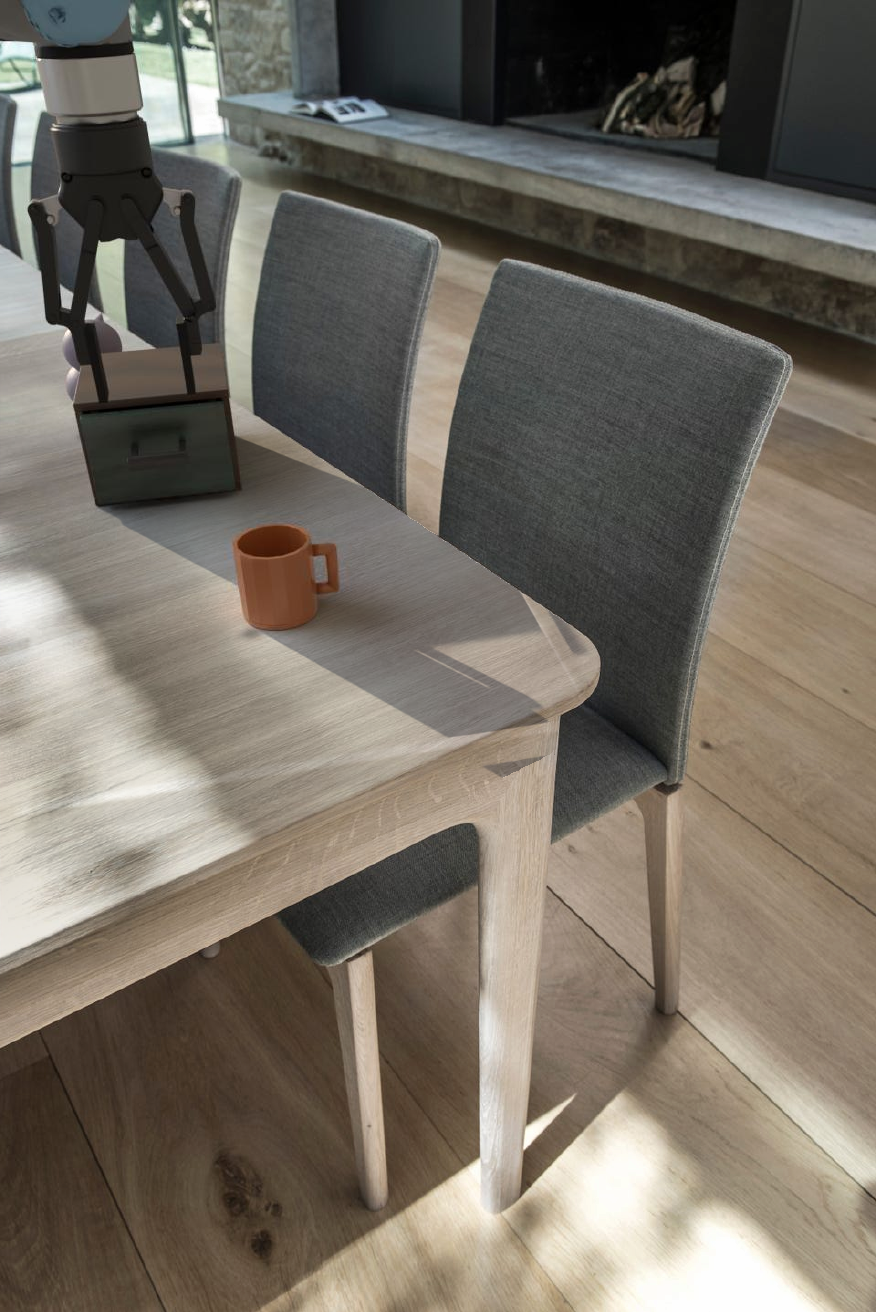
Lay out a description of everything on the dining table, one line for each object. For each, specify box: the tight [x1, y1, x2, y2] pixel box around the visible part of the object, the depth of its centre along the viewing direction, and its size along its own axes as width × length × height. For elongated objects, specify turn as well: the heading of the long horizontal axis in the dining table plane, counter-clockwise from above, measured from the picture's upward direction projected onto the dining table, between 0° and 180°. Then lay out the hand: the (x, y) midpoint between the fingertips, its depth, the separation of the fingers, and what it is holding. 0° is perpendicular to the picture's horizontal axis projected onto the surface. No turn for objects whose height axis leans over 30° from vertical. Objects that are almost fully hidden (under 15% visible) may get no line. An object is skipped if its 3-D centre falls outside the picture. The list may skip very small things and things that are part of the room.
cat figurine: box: [61, 311, 123, 402], centre depth 121 cm, size 8×8×12 cm
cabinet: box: [72, 342, 243, 507], centre depth 110 cm, size 16×15×11 cm
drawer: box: [80, 398, 236, 504], centre depth 106 cm, size 19×13×9 cm
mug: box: [232, 523, 341, 631], centre depth 86 cm, size 8×6×6 cm
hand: (148, 393), depth 97 cm, fingers open, 7 cm apart
